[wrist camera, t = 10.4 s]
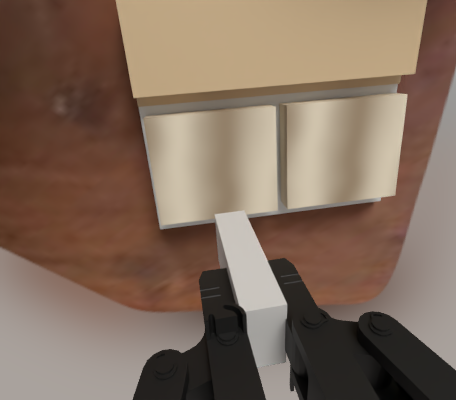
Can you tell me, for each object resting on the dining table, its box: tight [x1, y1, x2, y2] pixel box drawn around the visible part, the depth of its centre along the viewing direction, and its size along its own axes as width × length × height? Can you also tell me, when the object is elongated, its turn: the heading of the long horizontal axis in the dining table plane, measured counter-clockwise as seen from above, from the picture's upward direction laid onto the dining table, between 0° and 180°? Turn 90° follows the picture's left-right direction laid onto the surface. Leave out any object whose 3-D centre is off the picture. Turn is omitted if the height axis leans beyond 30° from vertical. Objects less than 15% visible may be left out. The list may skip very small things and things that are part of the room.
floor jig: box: [116, 0, 427, 229], centre depth 25 cm, size 20×17×3 cm
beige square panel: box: [279, 93, 407, 209], centre depth 26 cm, size 9×8×2 cm
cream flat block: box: [143, 105, 278, 226], centre depth 25 cm, size 9×8×2 cm
